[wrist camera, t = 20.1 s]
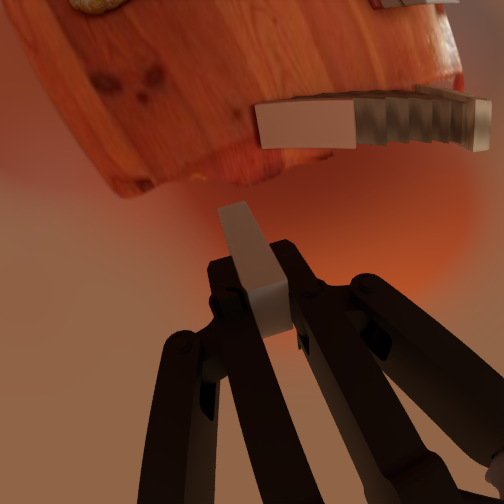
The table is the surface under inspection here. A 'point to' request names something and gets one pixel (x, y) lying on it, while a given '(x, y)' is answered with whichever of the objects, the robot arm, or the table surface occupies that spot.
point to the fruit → (95, 5)
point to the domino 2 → (366, 118)
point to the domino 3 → (390, 115)
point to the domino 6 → (452, 117)
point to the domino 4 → (416, 116)
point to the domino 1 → (307, 123)
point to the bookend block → (468, 115)
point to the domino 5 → (436, 116)
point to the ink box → (405, 3)
